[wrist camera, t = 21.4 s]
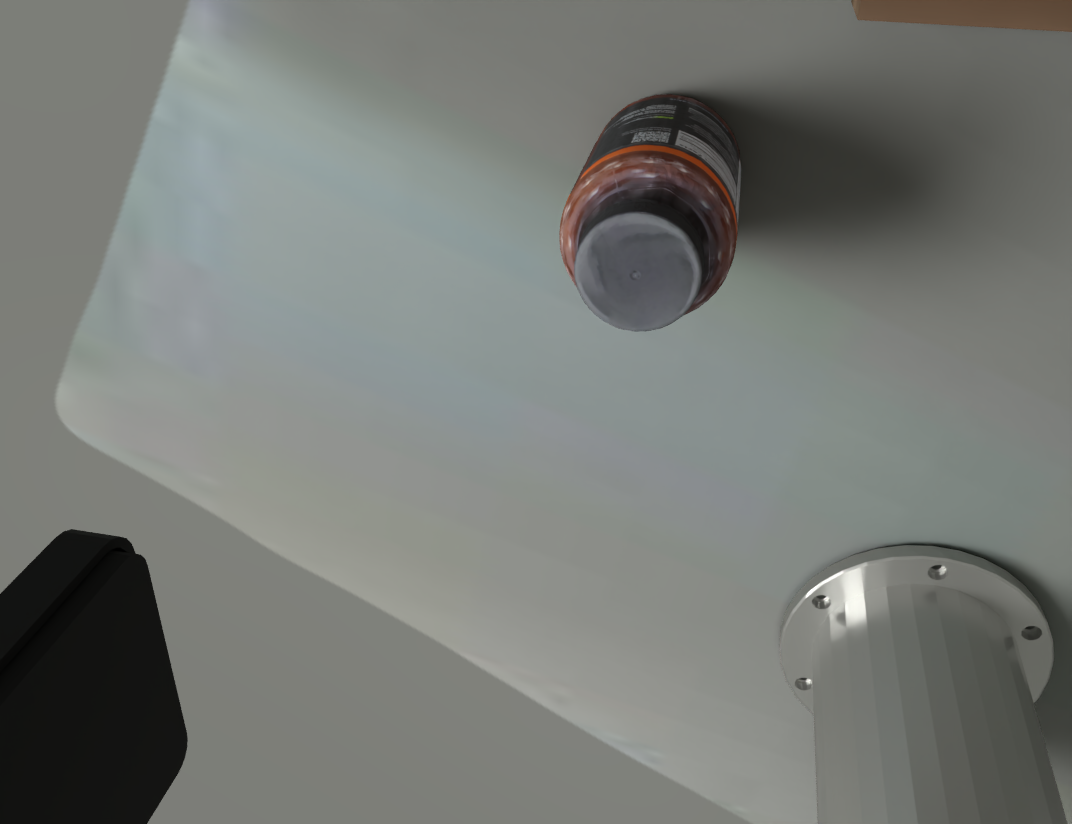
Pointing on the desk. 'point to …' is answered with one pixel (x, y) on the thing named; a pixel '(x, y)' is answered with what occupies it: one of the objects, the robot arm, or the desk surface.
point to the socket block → (971, 13)
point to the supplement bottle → (654, 213)
